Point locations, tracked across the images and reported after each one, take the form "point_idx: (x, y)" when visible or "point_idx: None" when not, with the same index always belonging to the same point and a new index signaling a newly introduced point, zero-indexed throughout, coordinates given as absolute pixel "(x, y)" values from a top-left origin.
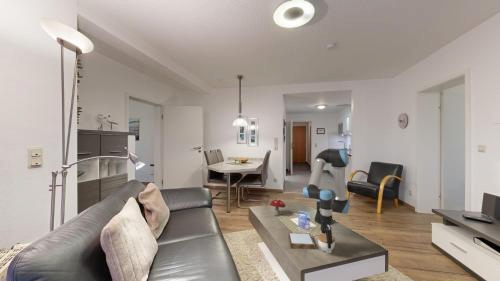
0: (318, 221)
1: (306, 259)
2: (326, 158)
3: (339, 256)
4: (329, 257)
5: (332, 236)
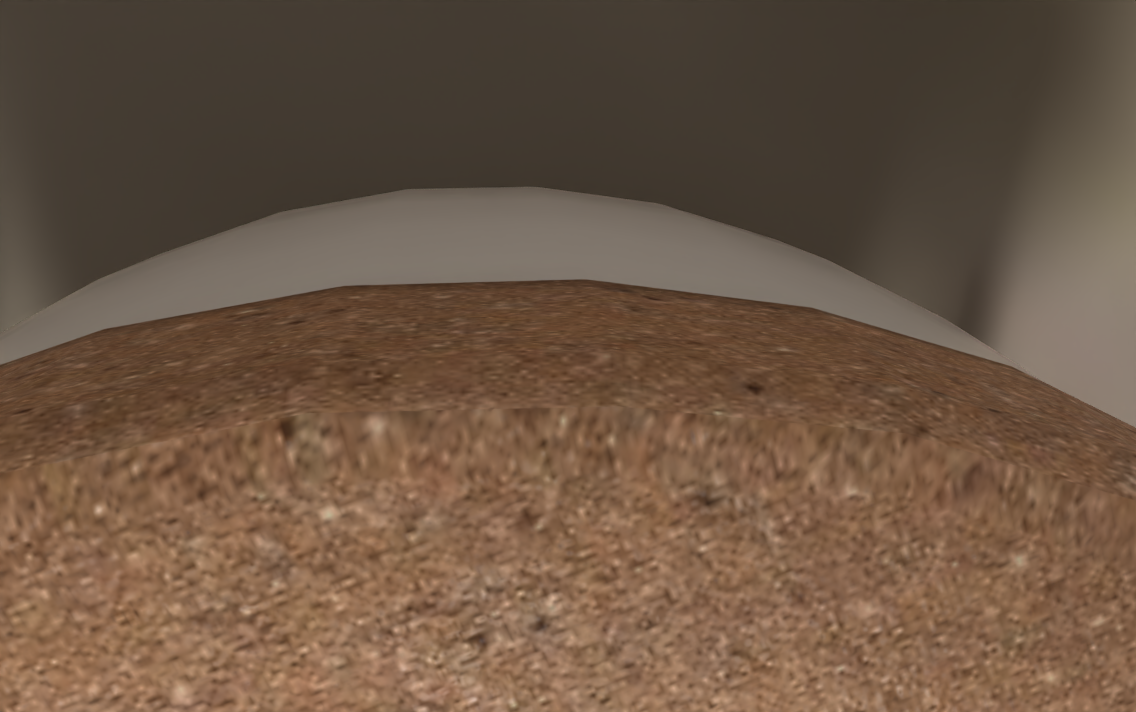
0: None
1: None
2: None
3: (1100, 54)
4: None
5: (147, 681)
